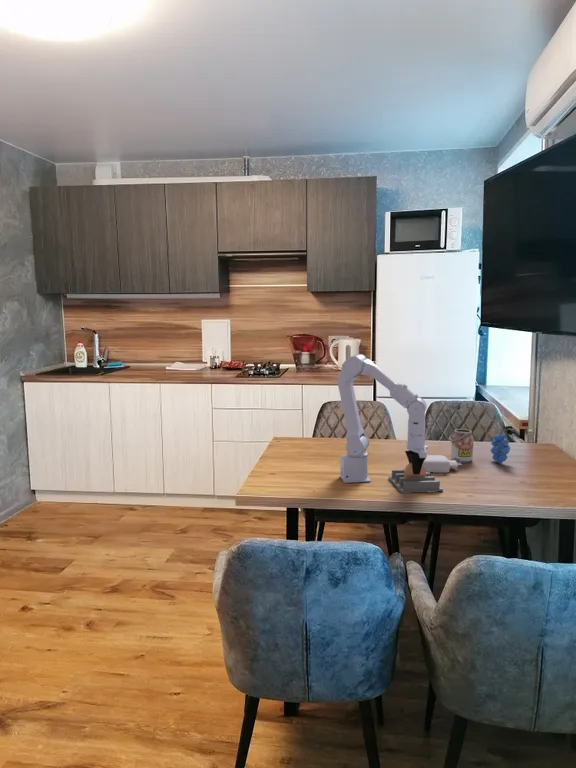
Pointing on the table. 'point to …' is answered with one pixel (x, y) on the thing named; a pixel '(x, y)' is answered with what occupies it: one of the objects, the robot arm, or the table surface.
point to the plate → (409, 472)
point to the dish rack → (414, 482)
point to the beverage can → (462, 445)
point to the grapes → (500, 448)
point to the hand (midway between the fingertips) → (415, 472)
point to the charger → (439, 464)
